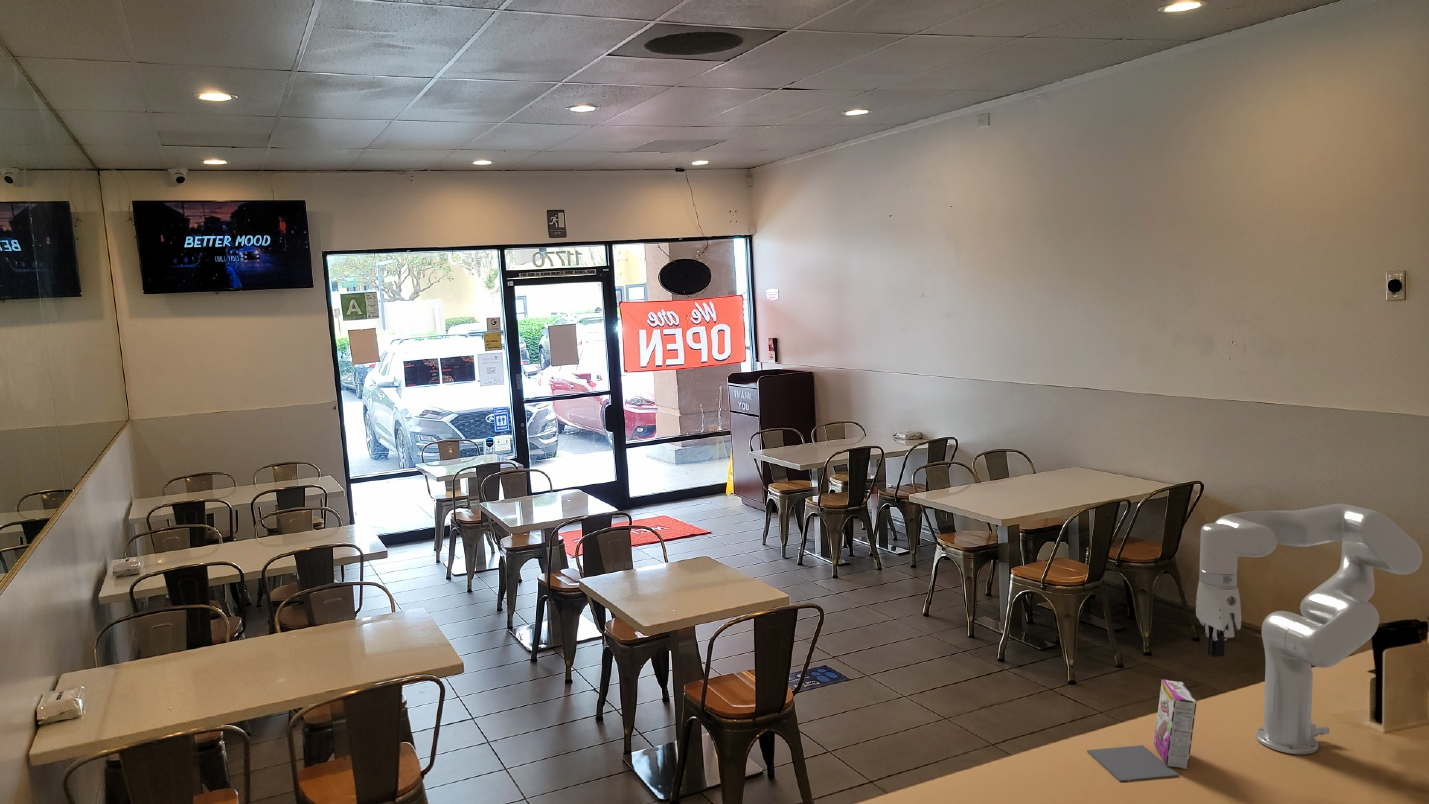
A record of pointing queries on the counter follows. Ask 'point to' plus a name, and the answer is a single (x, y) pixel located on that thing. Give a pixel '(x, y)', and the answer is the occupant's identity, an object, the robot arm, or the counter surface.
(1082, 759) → the counter surface
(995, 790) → the counter surface
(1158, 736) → the candy bar box
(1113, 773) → the rubber mat
